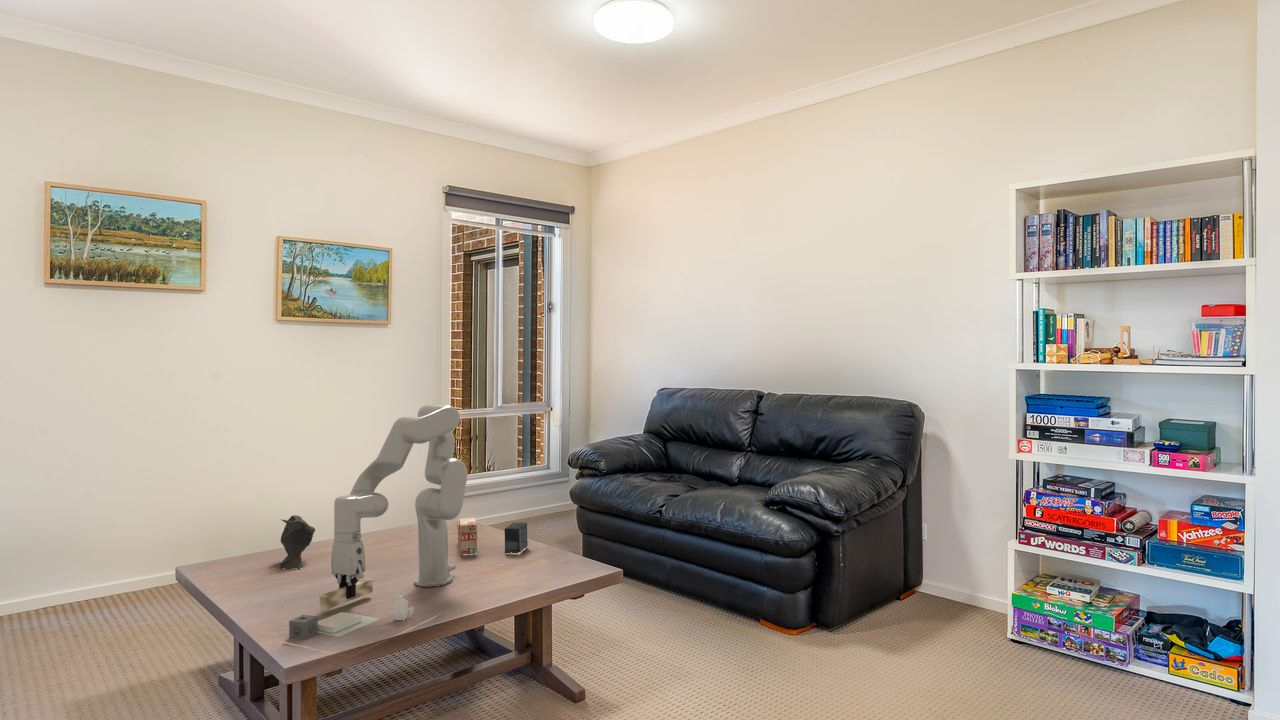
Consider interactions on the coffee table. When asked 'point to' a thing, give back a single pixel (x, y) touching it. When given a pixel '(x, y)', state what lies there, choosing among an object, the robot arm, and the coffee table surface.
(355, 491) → the robot arm
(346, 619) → the cream tile
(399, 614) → the rocket toy
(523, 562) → the coffee table surface
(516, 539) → the small box
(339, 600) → the tan wavy bar
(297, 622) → the dice cube
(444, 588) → the coffee table surface
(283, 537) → the dark grey sculpture
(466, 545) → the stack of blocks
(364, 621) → the sage mat
